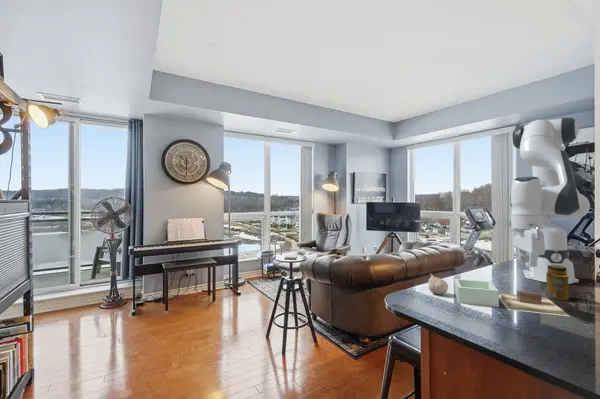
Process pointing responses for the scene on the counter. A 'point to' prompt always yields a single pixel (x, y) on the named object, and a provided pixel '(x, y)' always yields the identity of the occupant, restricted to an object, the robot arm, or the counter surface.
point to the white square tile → (527, 311)
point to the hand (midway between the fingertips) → (527, 263)
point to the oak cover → (531, 302)
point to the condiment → (557, 282)
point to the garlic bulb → (437, 285)
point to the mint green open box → (476, 292)
